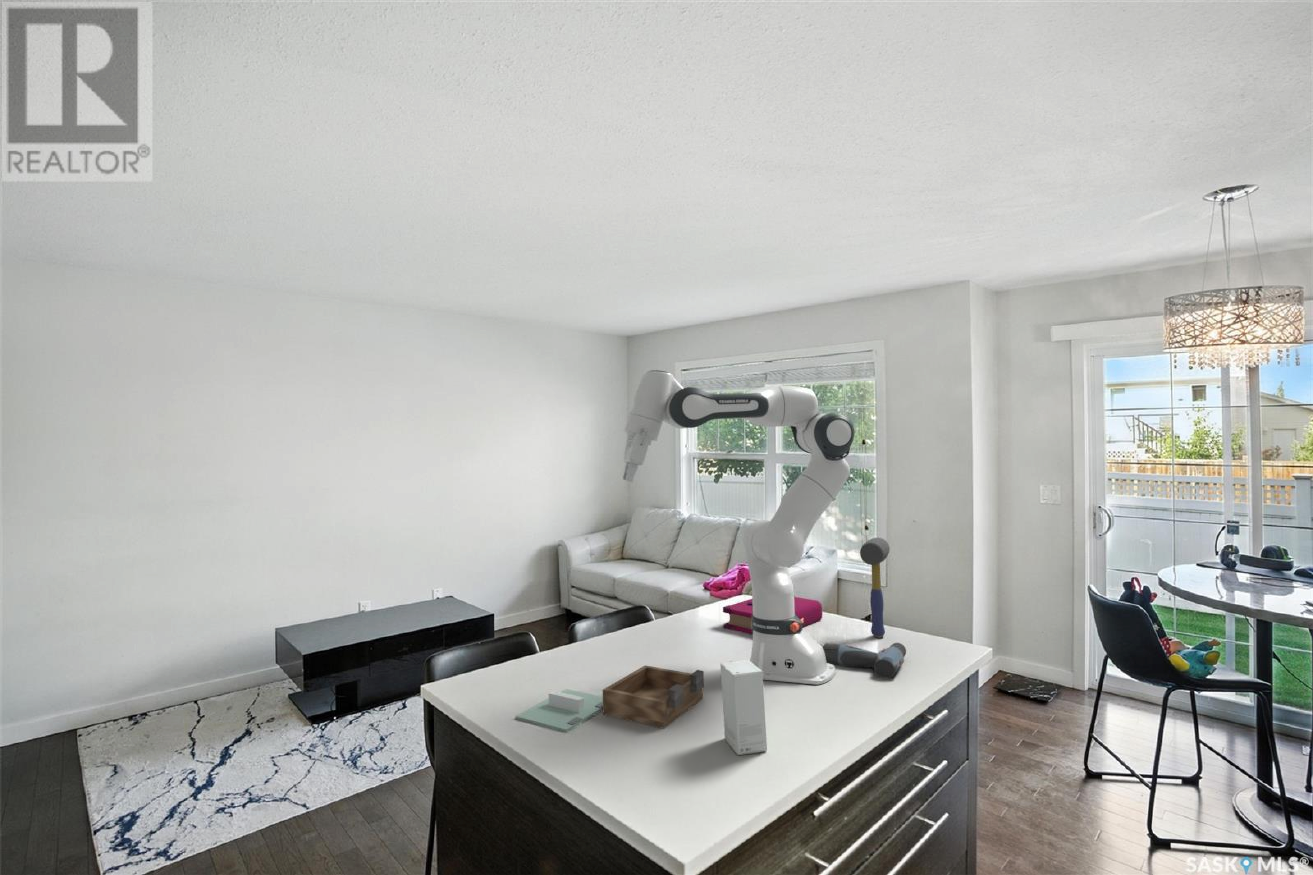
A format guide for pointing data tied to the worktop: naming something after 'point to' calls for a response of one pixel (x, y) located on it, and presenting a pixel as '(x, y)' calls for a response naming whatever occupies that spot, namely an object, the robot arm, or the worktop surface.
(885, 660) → the power drill
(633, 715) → the wooden crate tray
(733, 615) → the book
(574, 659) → the worktop surface
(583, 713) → the green lid with handle
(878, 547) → the rubber mallet
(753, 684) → the skincare box
